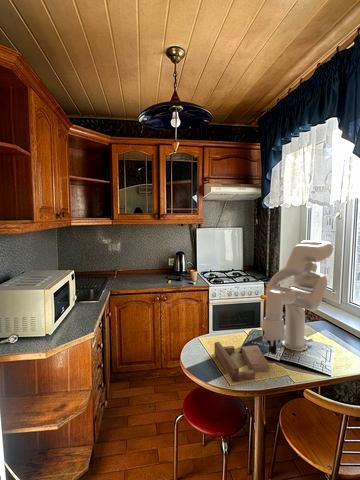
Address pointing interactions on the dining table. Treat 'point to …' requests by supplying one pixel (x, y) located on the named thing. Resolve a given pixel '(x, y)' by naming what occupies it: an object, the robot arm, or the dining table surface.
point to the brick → (255, 359)
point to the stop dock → (231, 364)
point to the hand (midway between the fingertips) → (272, 352)
